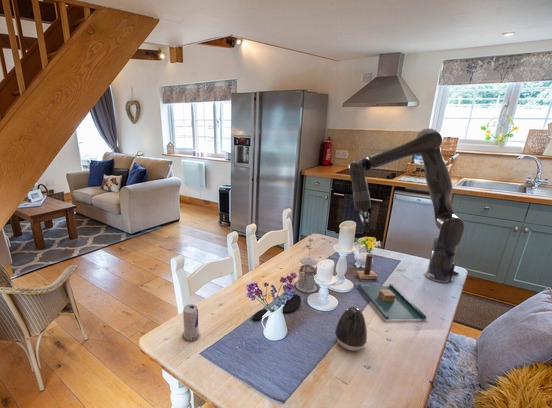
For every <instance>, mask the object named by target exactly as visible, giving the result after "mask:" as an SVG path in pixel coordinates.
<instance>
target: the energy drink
mask: <svg viewBox="0 0 552 408" xmlns="http://www.w3.org/2000/svg"><path fill="white" fill-rule="evenodd" d="M182 313H183V337H184V339H185V340H187V341H190V342H191V341H195V340H197V338H199V308H198V307H197V305H195V304H186V305H185V306H184V307H183V311H182Z"/></svg>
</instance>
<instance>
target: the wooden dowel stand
mask: <svg viewBox="0 0 552 408" xmlns="http://www.w3.org/2000/svg"><path fill="white" fill-rule="evenodd" d="M373 258H374V255H373V254H371V253H367V254H366V255H365V262H364V268H363V270H356V272H355V274H356V276H357V277H358V278H359V279H360V280H364V281H365V280H377V279H378V275H377V273H376V272H374V271H373V270H372V264H373Z"/></svg>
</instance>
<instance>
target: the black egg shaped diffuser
mask: <svg viewBox="0 0 552 408" xmlns="http://www.w3.org/2000/svg"><path fill="white" fill-rule="evenodd" d="M334 331H335V332H334V334H335V337H336V340H337V343H338V344H339V345H340V346H341V347H342V348H344V349H346V350H349V351H351V352H352V351H353V352H354V351H360V350H361V349H363V347H364V346H365V345H366V344H367V341H368V330H367V322H366V319H365V315H364V314H363V312H362V311H361V310H360V309H359V308H358V307H356V306H350V307H349V306H348V308H346V309H345V310H344V311H343V312H342V314H341V316H340V317H339V319H338V322H337V323H336V327H335V330H334Z"/></svg>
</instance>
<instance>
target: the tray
mask: <svg viewBox="0 0 552 408" xmlns="http://www.w3.org/2000/svg"><path fill="white" fill-rule="evenodd" d="M357 287H358V288H359V290H360V291H361V292H362V293H363V294H364V295H365V296H366V298H367V299H368V300H369V301H370V303H371V304H372V305H373V306H374V308H375V309H376V310H377V311H378V313H380V314H381V316H382V317H383V318H384V320H426V319H427V316H426V315H425V314H424V312H422V310H420V309H419V307H417V306H416V305H415V304H414V303H413V302H412V301H411V300H410V299H409V298H408V297H407V296H405V294H403V292H401V291H400V289H398V288H397V287H396V286H395V285H394V284H393V283H389V285H371V286H370V285H366V286H365V285H362V284H361V283H358V284H357ZM379 290H390V291H391V292H392V293H393V294H394V295H395V300H394V301H383V300H382V299H381V298H380V296H379Z"/></svg>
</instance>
